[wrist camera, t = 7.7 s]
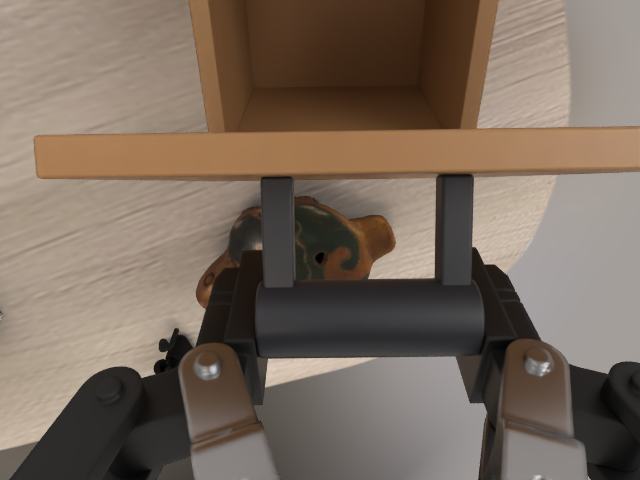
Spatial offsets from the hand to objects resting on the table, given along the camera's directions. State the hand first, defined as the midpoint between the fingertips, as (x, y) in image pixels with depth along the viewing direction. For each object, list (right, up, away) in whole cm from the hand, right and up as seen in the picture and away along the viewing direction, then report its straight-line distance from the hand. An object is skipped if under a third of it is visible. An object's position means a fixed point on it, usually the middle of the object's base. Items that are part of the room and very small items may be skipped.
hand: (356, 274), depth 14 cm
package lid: (0, +4, +2) cm, 4 cm away
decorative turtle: (-3, +2, +26) cm, 26 cm away
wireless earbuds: (-15, -9, +33) cm, 37 cm away
